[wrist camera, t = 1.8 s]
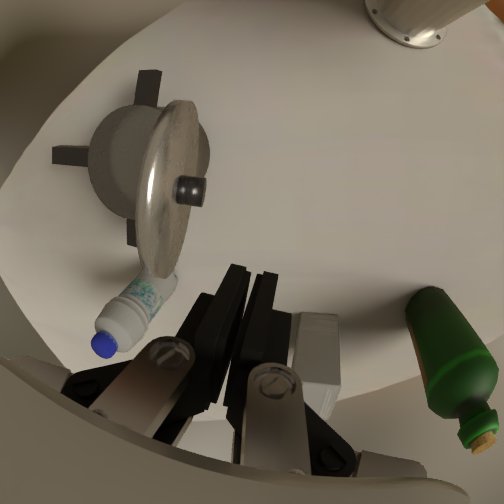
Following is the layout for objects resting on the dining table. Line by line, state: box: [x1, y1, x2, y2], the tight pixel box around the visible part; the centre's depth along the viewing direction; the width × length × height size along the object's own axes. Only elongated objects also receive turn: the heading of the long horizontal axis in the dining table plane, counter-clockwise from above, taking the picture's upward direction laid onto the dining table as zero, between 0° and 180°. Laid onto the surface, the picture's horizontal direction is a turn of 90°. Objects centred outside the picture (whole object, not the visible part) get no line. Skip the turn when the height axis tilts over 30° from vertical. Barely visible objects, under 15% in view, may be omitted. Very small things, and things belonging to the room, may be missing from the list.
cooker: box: [52, 70, 210, 247], centre depth 34 cm, size 23×24×9 cm
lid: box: [135, 100, 206, 279], centre depth 22 cm, size 15×15×3 cm
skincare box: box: [291, 312, 341, 420], centre depth 39 cm, size 8×7×16 cm
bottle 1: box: [91, 269, 178, 359], centre depth 38 cm, size 7×7×20 cm
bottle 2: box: [405, 287, 499, 455], centre depth 28 cm, size 11×11×28 cm
